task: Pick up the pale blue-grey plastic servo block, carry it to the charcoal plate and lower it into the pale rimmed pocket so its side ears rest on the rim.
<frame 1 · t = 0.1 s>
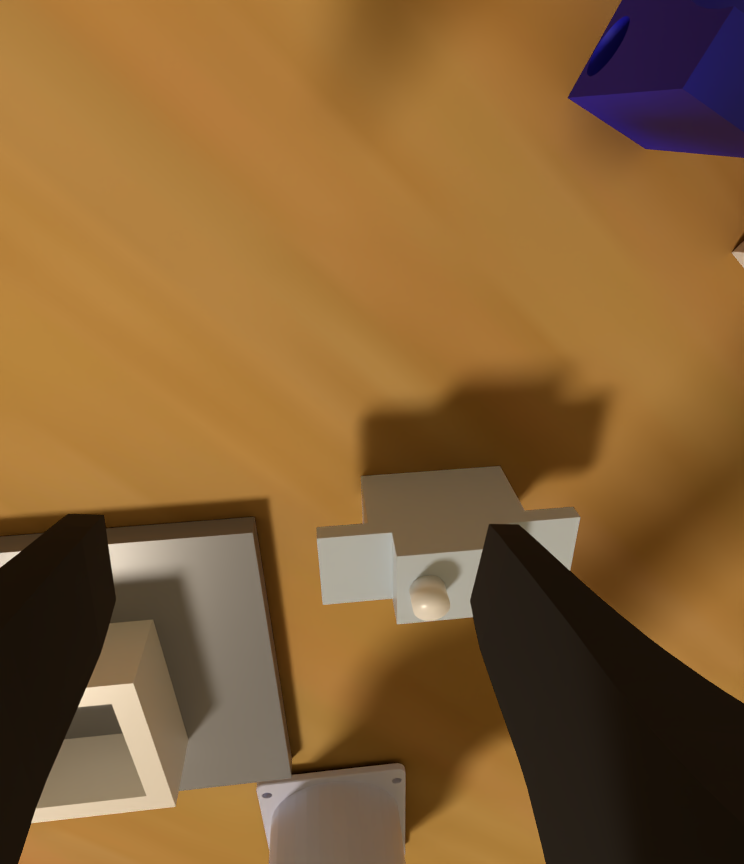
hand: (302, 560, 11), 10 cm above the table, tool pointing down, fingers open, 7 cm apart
pocket plate: (74, 675, 26), on the table
servo block: (429, 501, 23), on the table
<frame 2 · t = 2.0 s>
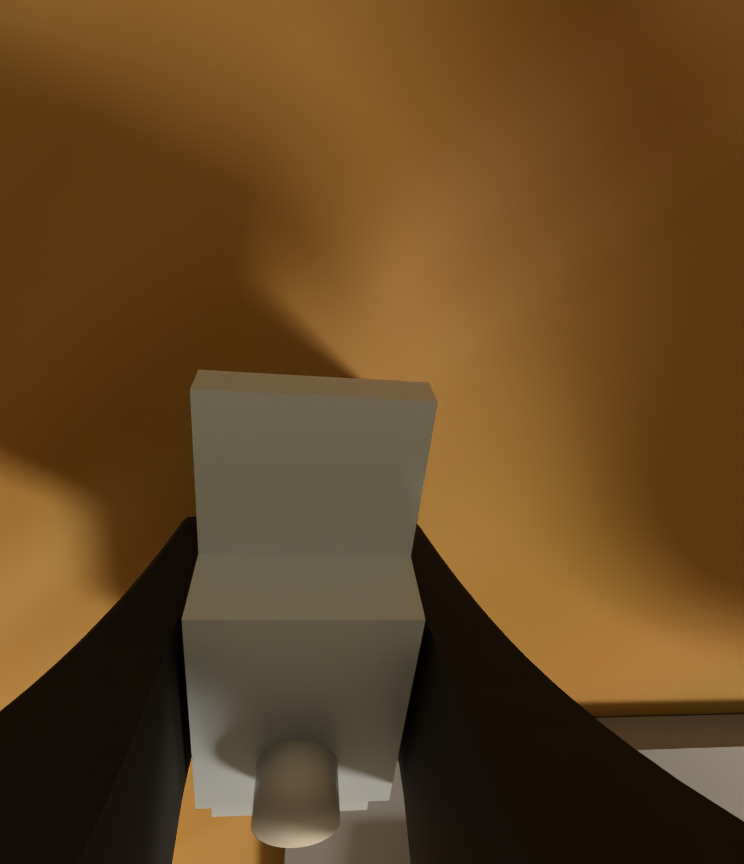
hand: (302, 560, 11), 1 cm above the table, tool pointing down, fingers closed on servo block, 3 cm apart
servo block: (302, 515, 12), on the table, touching gripper
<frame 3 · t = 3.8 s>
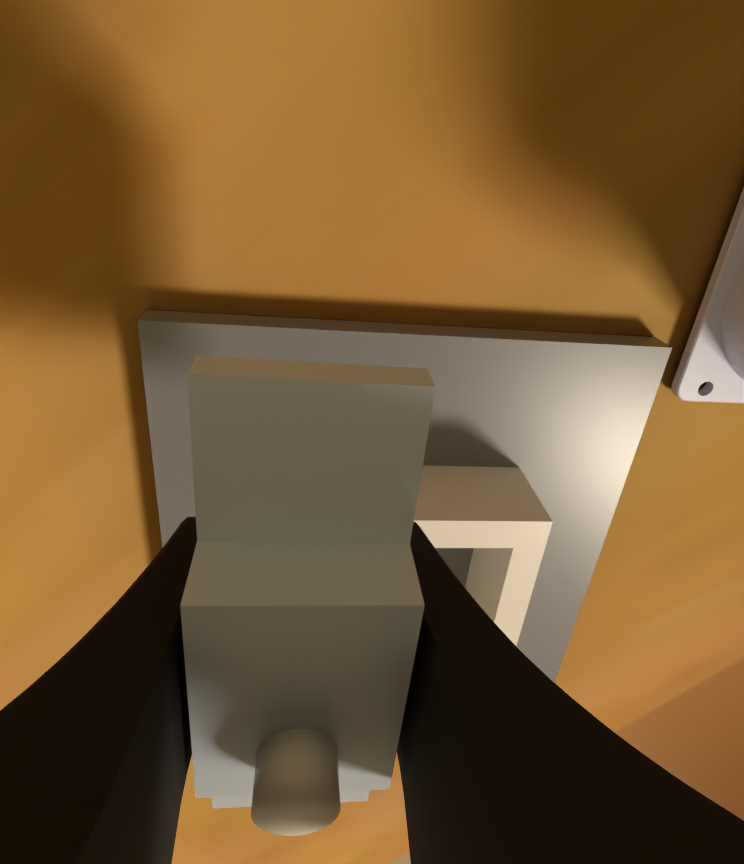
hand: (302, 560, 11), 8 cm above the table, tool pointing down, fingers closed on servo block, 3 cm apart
pocket plate: (386, 551, 22), on the table
servo block: (302, 507, 12), point 7 cm above the table, touching gripper
when the fingers open (5 cm above the table, at t = 5.7 s): servo block drops 2 cm, resting on pocket plate.
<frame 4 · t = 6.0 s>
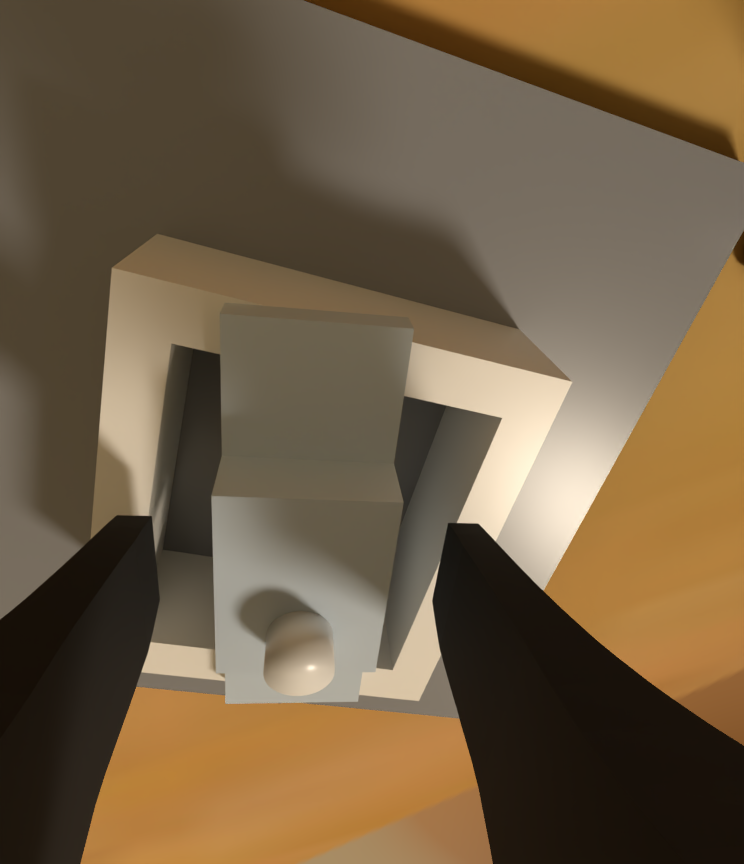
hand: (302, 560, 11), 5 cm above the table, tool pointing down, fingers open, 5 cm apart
pocket plate: (304, 440, 15), on the table
servo block: (304, 453, 14), point 1 cm above the table, touching pocket plate
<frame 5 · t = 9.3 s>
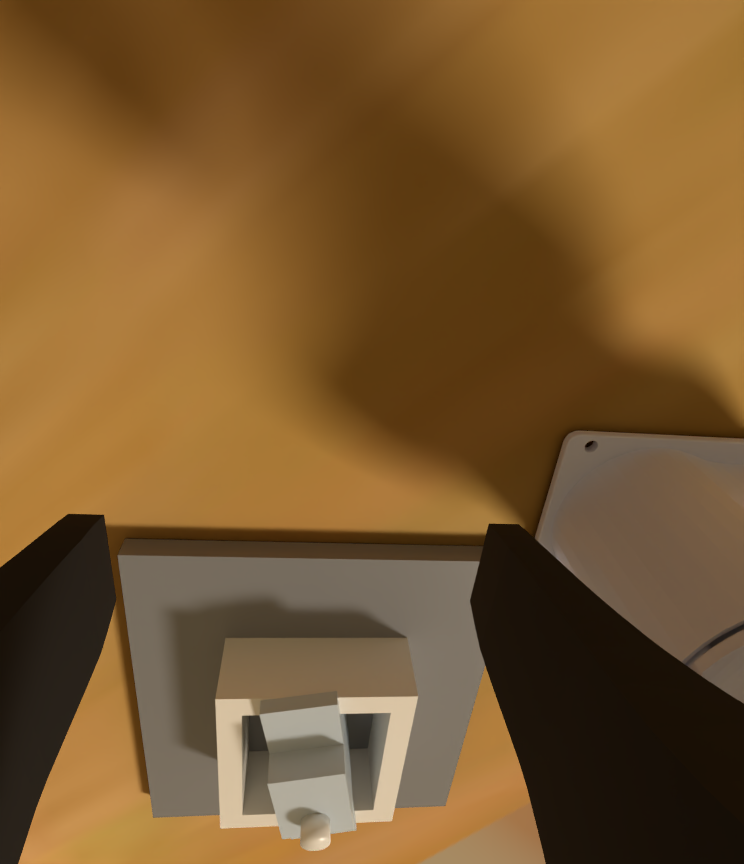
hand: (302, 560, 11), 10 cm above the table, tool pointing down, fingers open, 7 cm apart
pocket plate: (312, 686, 28), on the table
servo block: (312, 701, 27), point 1 cm above the table, touching pocket plate
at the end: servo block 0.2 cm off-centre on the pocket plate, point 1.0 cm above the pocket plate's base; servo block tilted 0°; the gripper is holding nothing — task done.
